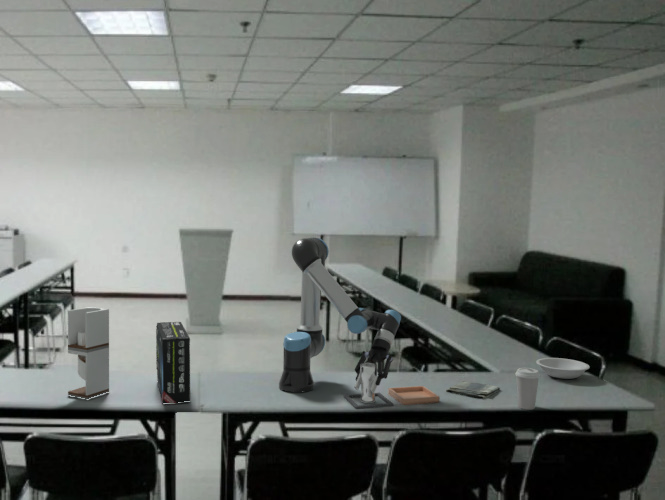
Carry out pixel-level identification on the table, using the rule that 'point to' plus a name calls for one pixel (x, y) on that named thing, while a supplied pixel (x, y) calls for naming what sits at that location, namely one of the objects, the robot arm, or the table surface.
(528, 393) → the coffee cup
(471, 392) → the dish towel
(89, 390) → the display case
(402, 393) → the terracotta tray
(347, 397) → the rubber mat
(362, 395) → the beer glass
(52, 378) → the table surface
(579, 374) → the soup bowl
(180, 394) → the router box
